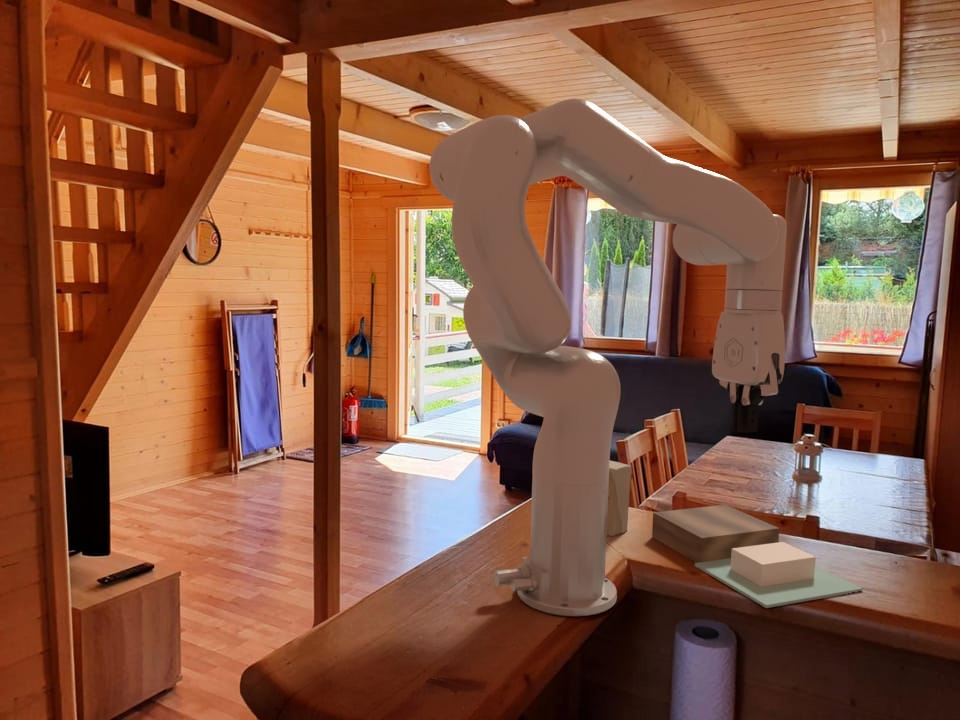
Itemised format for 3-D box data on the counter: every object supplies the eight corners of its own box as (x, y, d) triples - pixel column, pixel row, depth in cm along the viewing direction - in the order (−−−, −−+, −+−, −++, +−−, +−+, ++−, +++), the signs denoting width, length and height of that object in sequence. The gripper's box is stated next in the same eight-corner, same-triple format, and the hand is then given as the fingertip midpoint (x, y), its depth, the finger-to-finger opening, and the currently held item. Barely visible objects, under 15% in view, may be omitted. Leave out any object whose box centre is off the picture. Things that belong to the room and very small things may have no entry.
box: (587, 528, 115) (589, 462, 114) (603, 523, 118) (605, 458, 117) (613, 537, 111) (616, 468, 110) (629, 531, 114) (632, 464, 113)
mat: (766, 608, 87) (766, 605, 87) (694, 566, 100) (694, 563, 100) (862, 591, 93) (862, 588, 93) (782, 553, 106) (783, 550, 106)
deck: (700, 565, 101) (701, 538, 100) (652, 537, 112) (653, 512, 112) (777, 554, 106) (779, 528, 105) (723, 528, 117) (725, 504, 116)
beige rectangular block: (731, 548, 98) (730, 569, 98) (762, 564, 93) (761, 586, 93) (782, 541, 101) (781, 561, 101) (815, 556, 96) (814, 578, 96)
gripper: (697, 301, 105) (690, 422, 107) (769, 304, 91) (760, 443, 93) (738, 302, 108) (730, 420, 110) (814, 305, 94) (804, 440, 96)
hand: (744, 430), depth 101 cm, fingers closed
